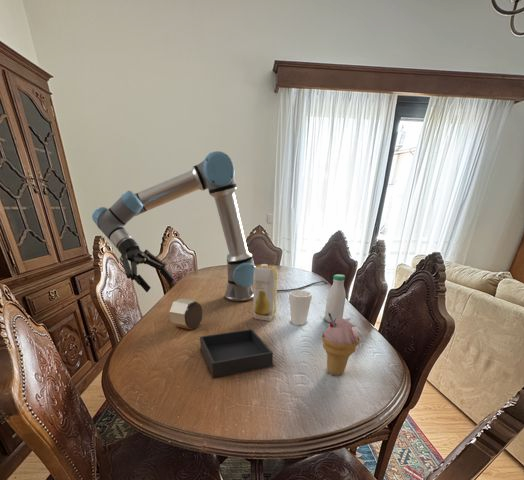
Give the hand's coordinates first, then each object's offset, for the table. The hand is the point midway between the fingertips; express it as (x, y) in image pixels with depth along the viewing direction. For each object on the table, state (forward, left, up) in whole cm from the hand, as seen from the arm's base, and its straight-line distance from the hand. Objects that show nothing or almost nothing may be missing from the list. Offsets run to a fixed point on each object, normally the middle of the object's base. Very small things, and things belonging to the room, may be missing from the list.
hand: (160, 285), depth 117 cm
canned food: (-62, +38, -16) cm, 75 cm away
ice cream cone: (-46, +60, -16) cm, 77 cm away
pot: (-8, +8, -10) cm, 16 cm away
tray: (-19, +40, -16) cm, 47 cm away
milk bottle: (-70, +23, -16) cm, 76 cm away
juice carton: (-42, +10, -16) cm, 46 cm away
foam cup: (-54, +20, -16) cm, 60 cm away
